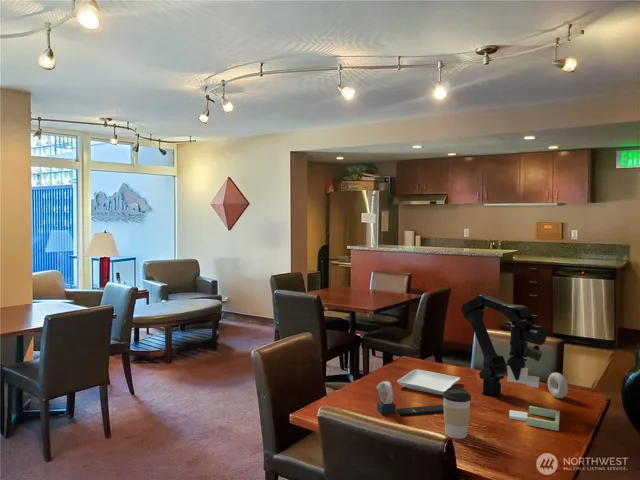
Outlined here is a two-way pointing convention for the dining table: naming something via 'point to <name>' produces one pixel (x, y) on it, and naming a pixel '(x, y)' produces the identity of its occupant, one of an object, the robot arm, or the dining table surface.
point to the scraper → (523, 377)
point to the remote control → (420, 410)
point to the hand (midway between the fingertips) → (517, 379)
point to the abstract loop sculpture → (386, 403)
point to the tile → (518, 415)
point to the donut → (562, 385)
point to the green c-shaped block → (541, 422)
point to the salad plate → (428, 381)
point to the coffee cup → (456, 412)
